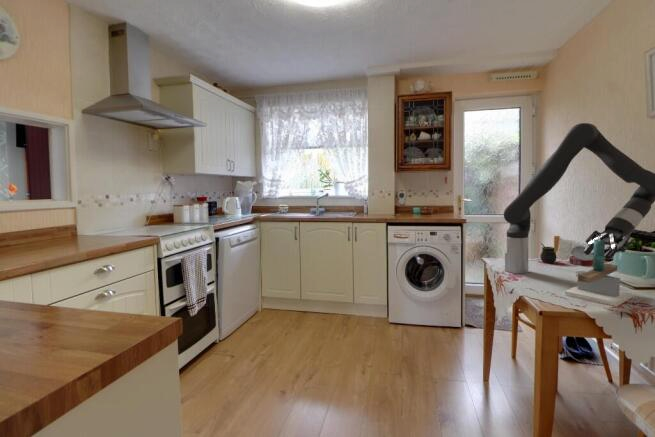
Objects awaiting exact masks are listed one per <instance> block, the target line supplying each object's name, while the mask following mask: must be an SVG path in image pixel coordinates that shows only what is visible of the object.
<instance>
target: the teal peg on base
mask: <svg viewBox="0 0 655 437" xmlns="http://www.w3.org/2000/svg"><path fill="white" fill-rule="evenodd" d="M593 244H594V249H593V256H594V258H593V265H592V269H590V270H588V271H586V272H585V271H584V272H585V273H583V274H581V275H578V274H577V282H578V281H582V282H588V283H591V282H593V281H595V280H598V279H600V278H602V277H604V276H609V275H610V274H613V273H615V272H617V271H618V264H610V263H605V257H604V255H605V253H606V251H605V248H606V245H605V241H600V240H598V241H594V243H593Z"/></svg>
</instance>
